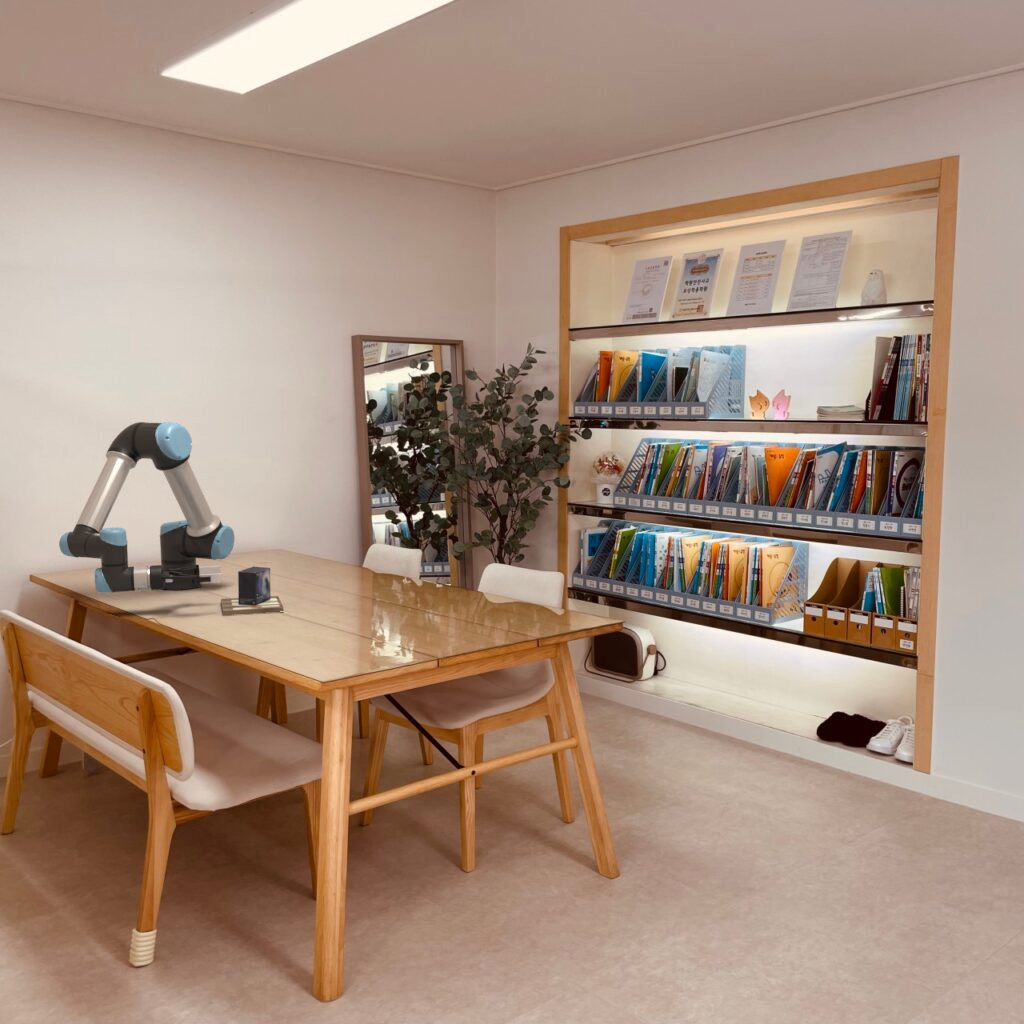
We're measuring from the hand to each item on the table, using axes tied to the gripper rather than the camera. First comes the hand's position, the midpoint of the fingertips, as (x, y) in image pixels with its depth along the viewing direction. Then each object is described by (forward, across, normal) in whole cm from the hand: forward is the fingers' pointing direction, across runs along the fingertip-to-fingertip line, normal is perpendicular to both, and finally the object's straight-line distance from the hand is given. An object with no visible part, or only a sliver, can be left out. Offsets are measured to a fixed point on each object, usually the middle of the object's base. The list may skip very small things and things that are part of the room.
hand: (221, 574), depth 327 cm
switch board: (+9, 0, -11) cm, 14 cm away
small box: (+10, 0, -10) cm, 14 cm away
